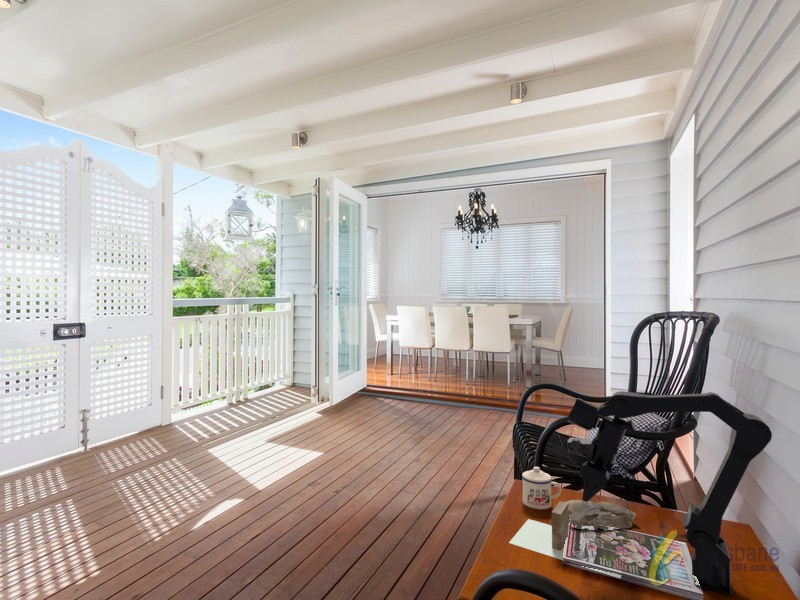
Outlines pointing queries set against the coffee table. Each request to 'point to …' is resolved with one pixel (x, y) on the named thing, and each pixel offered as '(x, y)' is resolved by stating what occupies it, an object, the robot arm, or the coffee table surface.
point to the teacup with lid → (538, 489)
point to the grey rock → (599, 514)
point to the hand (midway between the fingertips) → (587, 494)
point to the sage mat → (541, 541)
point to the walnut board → (560, 525)
